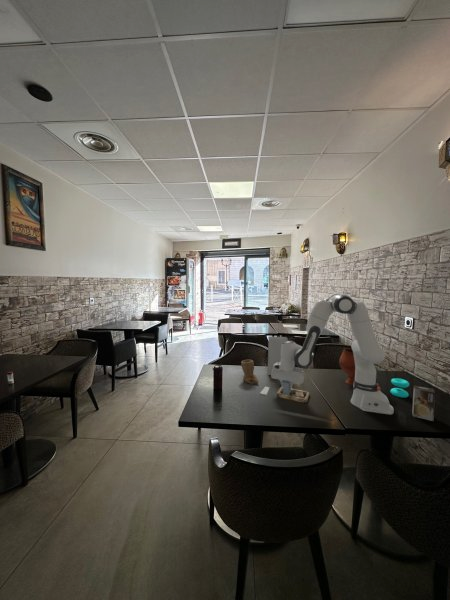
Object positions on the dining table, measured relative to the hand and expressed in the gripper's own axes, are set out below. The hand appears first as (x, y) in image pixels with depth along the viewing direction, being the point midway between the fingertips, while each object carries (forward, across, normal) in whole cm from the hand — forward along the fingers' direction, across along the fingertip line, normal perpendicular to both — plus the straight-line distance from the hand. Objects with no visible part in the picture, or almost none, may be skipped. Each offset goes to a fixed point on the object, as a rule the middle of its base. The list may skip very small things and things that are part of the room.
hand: (286, 387), depth 162 cm
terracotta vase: (+7, -38, -46) cm, 60 cm away
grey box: (+6, +16, -35) cm, 39 cm away
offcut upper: (+5, -8, 0) cm, 9 cm away
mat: (+6, +12, -1) cm, 13 cm away
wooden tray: (+6, -4, 0) cm, 7 cm away
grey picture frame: (+7, -73, -13) cm, 75 cm away
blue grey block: (+5, 0, 0) cm, 5 cm away
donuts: (+7, -66, -40) cm, 78 cm away
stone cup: (+6, +31, -13) cm, 34 cm away
